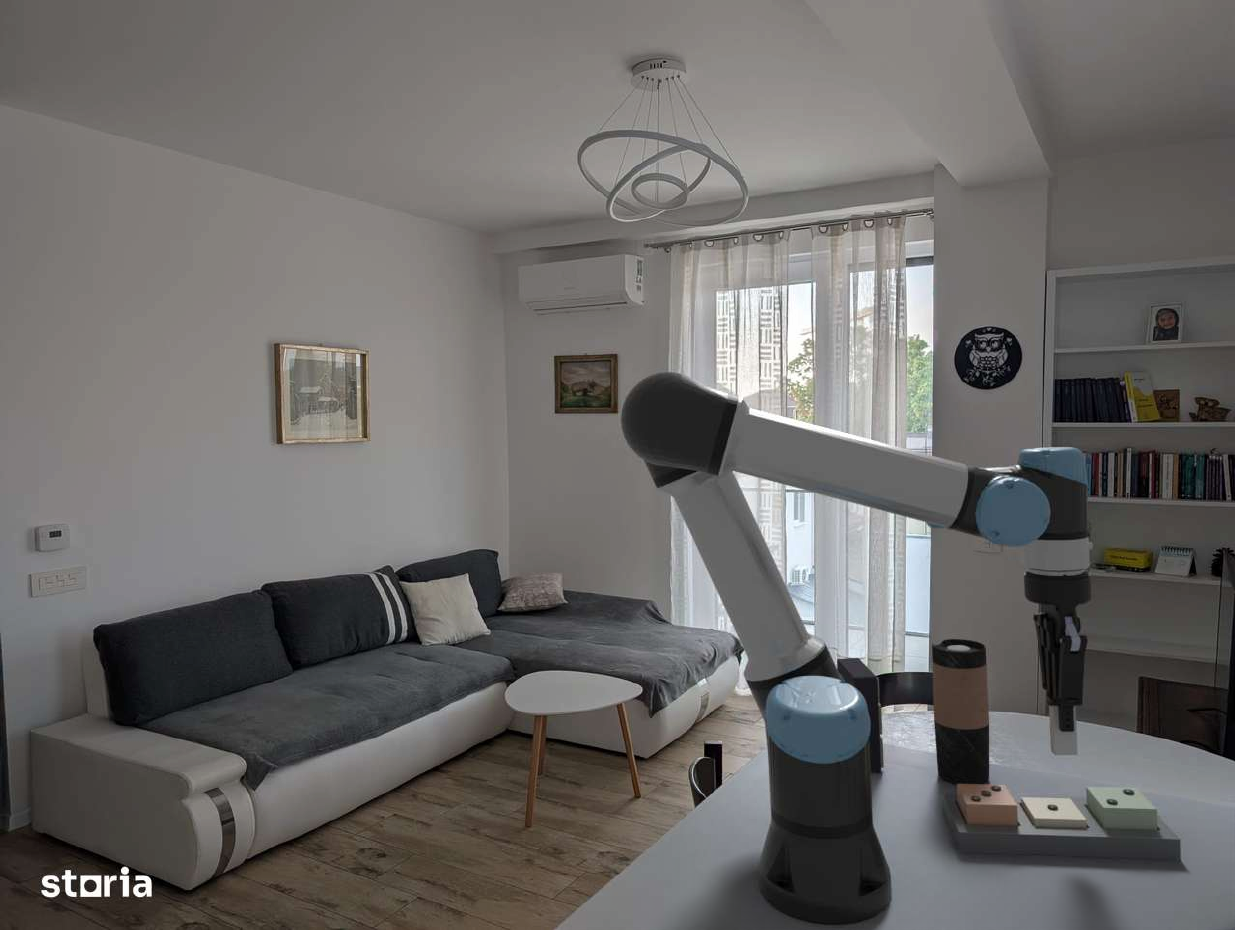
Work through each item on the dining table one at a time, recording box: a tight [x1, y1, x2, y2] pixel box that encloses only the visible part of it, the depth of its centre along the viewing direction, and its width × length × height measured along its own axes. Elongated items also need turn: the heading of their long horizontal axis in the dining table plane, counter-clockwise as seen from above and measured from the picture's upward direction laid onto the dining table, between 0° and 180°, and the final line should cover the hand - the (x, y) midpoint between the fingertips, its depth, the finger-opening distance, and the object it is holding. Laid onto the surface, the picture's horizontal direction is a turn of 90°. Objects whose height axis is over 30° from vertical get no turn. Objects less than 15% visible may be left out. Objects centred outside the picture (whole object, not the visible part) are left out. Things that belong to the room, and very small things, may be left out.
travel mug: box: [931, 638, 990, 787], centre depth 127 cm, size 8×8×20 cm
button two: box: [1085, 786, 1158, 830], centre depth 108 cm, size 6×6×3 cm
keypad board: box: [941, 793, 1182, 861], centre depth 109 cm, size 25×11×2 cm, turn 79°
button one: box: [1021, 797, 1087, 828], centre depth 109 cm, size 6×6×3 cm
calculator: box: [836, 657, 885, 773], centre depth 136 cm, size 11×4×15 cm, turn 179°
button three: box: [956, 783, 1018, 826], centre depth 111 cm, size 6×6×3 cm
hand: (1064, 752), depth 109 cm, fingers closed
